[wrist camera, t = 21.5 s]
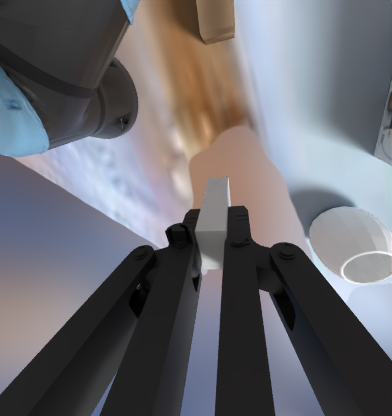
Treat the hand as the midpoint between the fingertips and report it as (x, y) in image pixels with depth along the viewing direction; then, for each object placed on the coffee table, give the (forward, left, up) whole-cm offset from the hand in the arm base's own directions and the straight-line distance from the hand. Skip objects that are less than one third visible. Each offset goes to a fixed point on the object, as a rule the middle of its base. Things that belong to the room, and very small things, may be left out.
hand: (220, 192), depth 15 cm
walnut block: (0, +16, -26) cm, 31 cm away
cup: (+23, -24, -27) cm, 43 cm away
